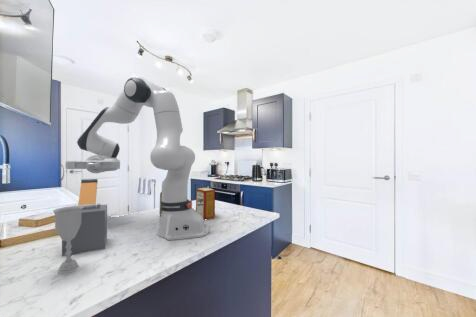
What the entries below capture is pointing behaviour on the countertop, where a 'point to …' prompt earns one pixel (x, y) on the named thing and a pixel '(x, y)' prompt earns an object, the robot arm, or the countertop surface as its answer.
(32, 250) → the countertop surface
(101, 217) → the box
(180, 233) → the robot arm
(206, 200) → the baking soda box
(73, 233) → the chalice
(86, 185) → the lever
